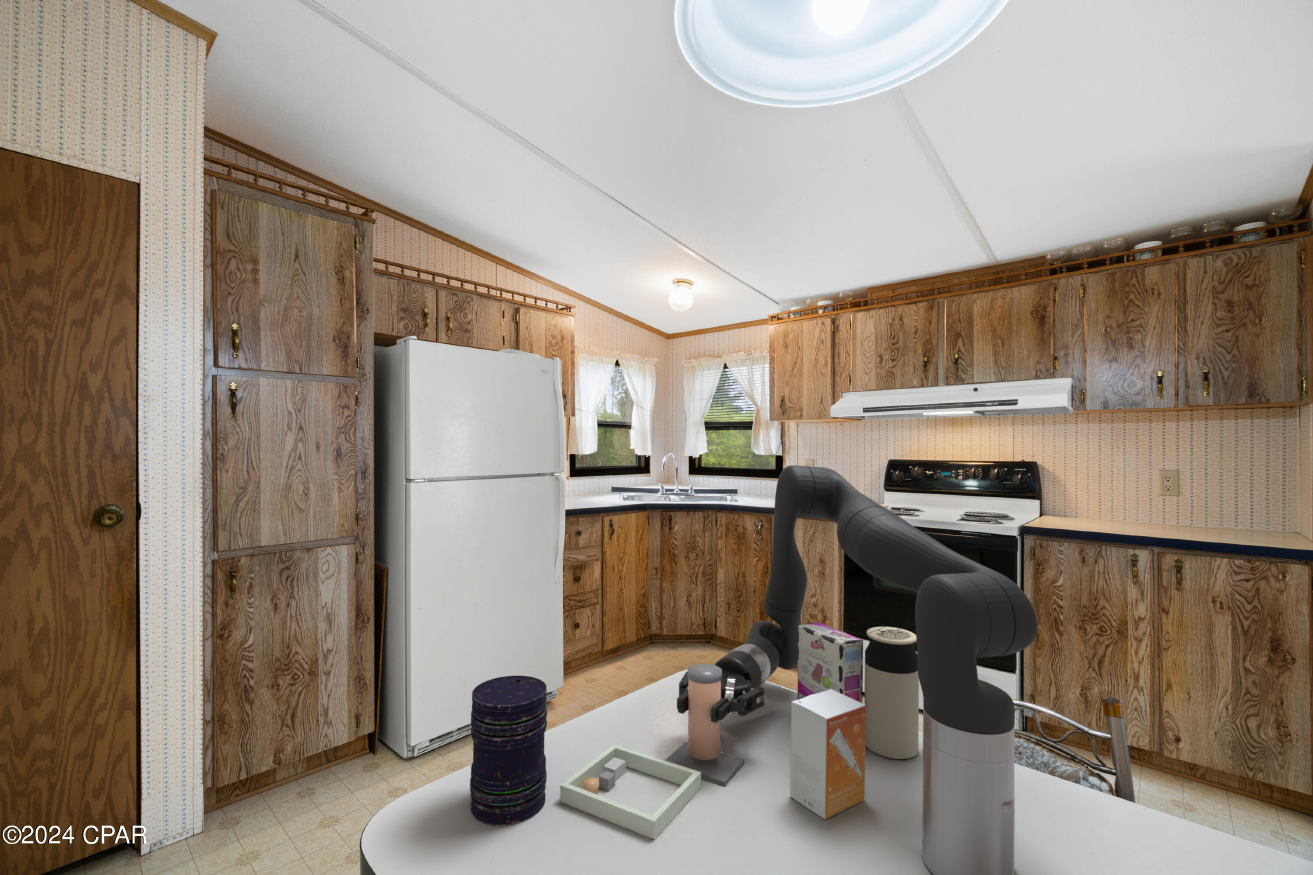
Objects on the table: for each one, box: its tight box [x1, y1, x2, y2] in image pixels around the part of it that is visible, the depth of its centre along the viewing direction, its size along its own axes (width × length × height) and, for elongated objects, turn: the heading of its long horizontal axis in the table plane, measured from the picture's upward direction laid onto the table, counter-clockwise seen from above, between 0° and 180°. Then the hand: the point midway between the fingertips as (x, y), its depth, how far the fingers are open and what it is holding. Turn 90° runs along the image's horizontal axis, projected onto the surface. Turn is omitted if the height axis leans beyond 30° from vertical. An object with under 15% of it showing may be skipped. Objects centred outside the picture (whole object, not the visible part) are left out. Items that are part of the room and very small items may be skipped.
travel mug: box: [864, 626, 920, 760], centre depth 95 cm, size 8×8×18 cm
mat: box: [665, 741, 745, 787], centre depth 89 cm, size 10×7×1 cm
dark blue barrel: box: [469, 675, 548, 827], centre depth 79 cm, size 10×10×15 cm
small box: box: [789, 689, 866, 820], centre depth 81 cm, size 8×6×13 cm
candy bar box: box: [796, 622, 864, 704], centre depth 101 cm, size 11×5×16 cm, turn 25°
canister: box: [687, 663, 722, 760], centre depth 89 cm, size 5×5×12 cm
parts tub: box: [559, 743, 702, 840], centre depth 81 cm, size 15×13×2 cm
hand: (696, 710), depth 87 cm, fingers closed on canister, 4 cm apart
